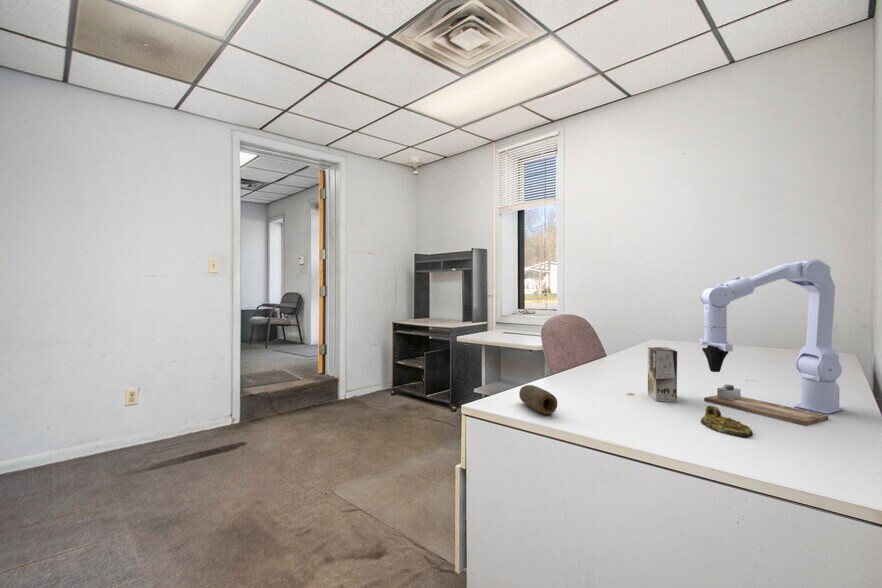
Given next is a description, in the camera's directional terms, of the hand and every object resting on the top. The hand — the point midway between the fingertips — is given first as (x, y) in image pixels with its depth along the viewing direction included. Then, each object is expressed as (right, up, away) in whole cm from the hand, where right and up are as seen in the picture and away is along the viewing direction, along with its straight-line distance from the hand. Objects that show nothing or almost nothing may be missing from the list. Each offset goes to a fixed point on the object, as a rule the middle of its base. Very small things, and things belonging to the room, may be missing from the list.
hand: (715, 371), depth 124 cm
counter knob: (+7, -9, +4) cm, 12 cm away
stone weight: (-55, -11, -3) cm, 56 cm away
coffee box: (-11, -11, +9) cm, 18 cm away
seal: (-10, -11, -19) cm, 24 cm away
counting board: (+11, -10, -4) cm, 16 cm away
